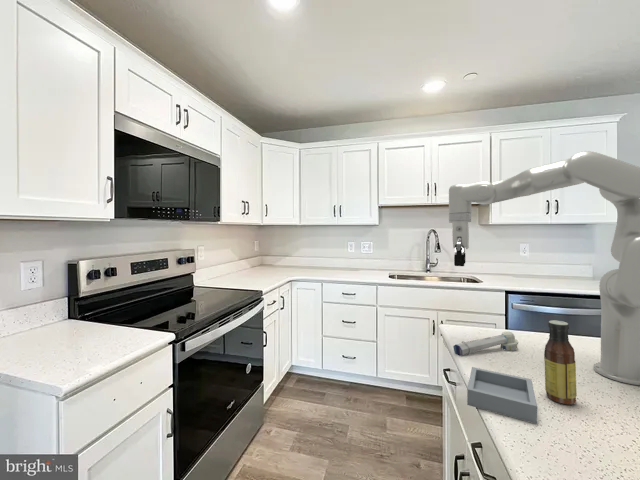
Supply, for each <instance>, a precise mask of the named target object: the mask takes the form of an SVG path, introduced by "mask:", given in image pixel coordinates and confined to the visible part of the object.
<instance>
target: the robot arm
mask: <svg viewBox="0 0 640 480" xmlns="http://www.w3.org/2000/svg"><path fill="white" fill-rule="evenodd" d="M584 183H586V184H587V185H590V186H592V187H595V188H597V189H598V191H599V194H600V195H601V197H602V198H603V199H605V200H606V201H609V202H610V203H611V204H612V205H613V206H614V207H615V209H616V211H617V219H616V227H615V230H614V235H613V239H612V243H611V246H610V253H611V256H612V257H613V259H614V260H616V261H617V262H619V264H618V268H616V269H615V268H614V269H612V270H609V271H607V272H605V274H603V275H602V277H601V279H600V281H599V285H598V288H599V297H600V307H601V308H600V313H601V315H600V317H601V319H600V320H601V321H600V361H599V362H598V361H597V362H595V363H593V370H594V371H595V372H596V373H597V374H599V375H601V376H604V377H605V378H608V379H611V380H613V381H616V382H620V383H624V384H628V385H634V386H640V166H637V165H635V164H632V163H629V162H626V161H623V160H620V159H617V158H615V157H612V156H608V155H606V154H602V153H600V152H597V151H596V152H595V151H590V150H588V151H587V150H584V151H581V152H577V153H575V154H573V155H572V156H570V158H566V159H563V160H562V159H561V160H559V161H555V162H551V163H548V164H544V165H543V164H542V165H539V166H535V167H532V168H529V169H525V170H523V171H521V172H519V173H518V174H516V175H514V176H511V177H509V178H506V179H503V180H502V179H501V180H499V181H495V182H490V181H487V180H486V181H485V180H484V181H483V180H482V181H477V182H472V183H460V184H454V185H451V186H450V187H449V188H448V223H449V224H450V223H452V226H451V229H452V233H451V236H452V246H453V247H452V249H454V254H453V256H454V257H453V258H454V259H453V260H454V262H453V264H454V265H453V266H455V267H465V264H466V250H468V249H469V248H470V247H469V246H470V245H469V241H470V240H469V238H470V233H469V232H470V231H469V228H470V227H469V223H472V203H477V204H478V205H482V206H483V205H485V206H486V205H490V204H491V205H492V204H496V203H500V202H504V201H509V200H513V199H517V198H522V197H523V198H524V197H528V196H533V195H536V194H540V193H545V192H549V191H554V190H560V189H563V188H568V187H572V186H576V185H580V184H584ZM465 249H466V250H465Z"/></svg>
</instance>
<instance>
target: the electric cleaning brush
mask: <svg viewBox="0 0 640 480" xmlns="http://www.w3.org/2000/svg"><path fill="white" fill-rule="evenodd" d="M515 337H516V336H515V334H514V333H513V332H512V331H503V332H502V333H501V334H499V335H493V336H488V337H483V338H478V339H473V340H467V341H464V340H463V341H462V342H459V343H456V344H454V345H453V352H454V354H456V355H457V356H459V357H461V356H466V355H467V356H469V355H470V354H473V353H476V352H481V351H482V350H483V351H484V350H486V349H489V348H493V347H496V346H500V348H501V350H504V349H505V350H504V351H507V350H509V351H512V350H513V351H512V352H515V351H517V349H518V345H519V341H518V340H517V339H516V338H515Z"/></svg>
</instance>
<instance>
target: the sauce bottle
mask: <svg viewBox="0 0 640 480" xmlns="http://www.w3.org/2000/svg"><path fill="white" fill-rule="evenodd" d="M547 325H548V328H549V335H548V337H549V338H548V340H547V342H546V343H545V346H544V353H543V356H544V360H543V361H544V384H545V385H544V387H545V392H546V396H547V397H548V398H549V399H551V400H552V401H553V402H556V403H558V404H563V405H568V406H569V405H570V406H571V405H575V404H576V403H577V395H578V394H577V392H578V391H577V372H576V371H577V367H576V366H577V365H576V364H577V363H576V356H575V355H576V354H575V349H574V347H573V345H572V344H571V343H570V340H569V330H570V325H569V323H568V322H565V321H563V320H555V319H554V320H553V319H551V320H549V321H548V324H547Z"/></svg>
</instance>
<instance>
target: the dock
mask: <svg viewBox="0 0 640 480" xmlns="http://www.w3.org/2000/svg"><path fill="white" fill-rule="evenodd" d="M470 369H471V370H470V375H469V379H468V383H467V384H468V385H467V390H466V391H467V396H466V402H467V406H469V407H473V408H477V409H480V410H484V411H487V412H488V411H489V412H492V413H496V414H499V415H503V416H507V417H510V418H513V419H518V420H522V421H525V422H529V423H532V424H536V425H537V424H538V402H537V397H536V393H535V390H534V386H533V380H532V379H531V378H528V377H524V376H517V375H514V374H513V375H512V374H507V373H504V372H499V371H492V370H490V369H489V370H488V369H484V368H480V367H474V366H472V367H471V368H470Z"/></svg>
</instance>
